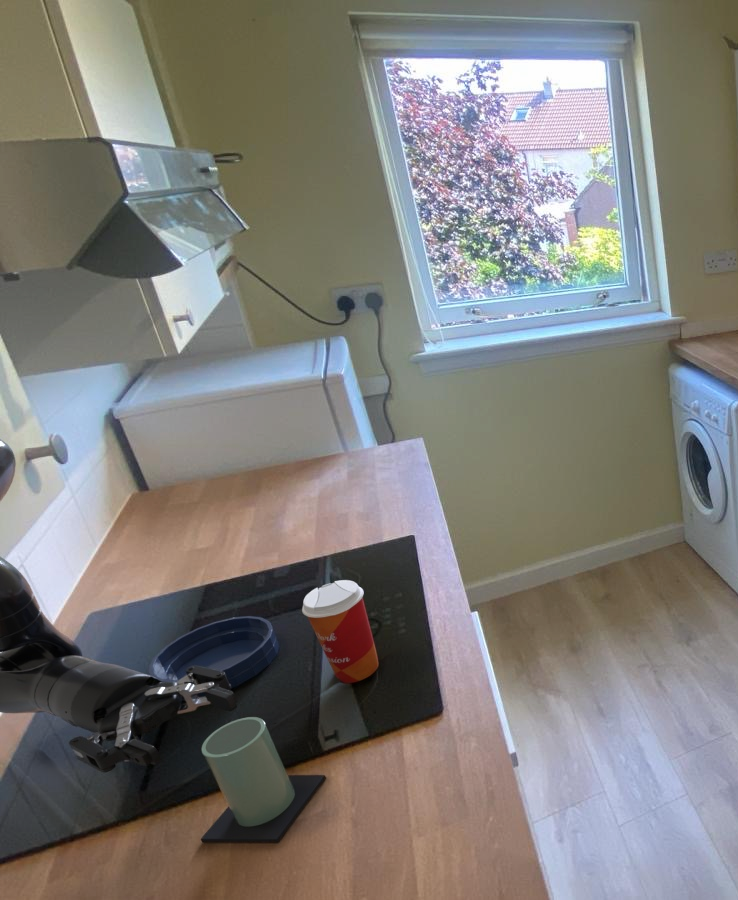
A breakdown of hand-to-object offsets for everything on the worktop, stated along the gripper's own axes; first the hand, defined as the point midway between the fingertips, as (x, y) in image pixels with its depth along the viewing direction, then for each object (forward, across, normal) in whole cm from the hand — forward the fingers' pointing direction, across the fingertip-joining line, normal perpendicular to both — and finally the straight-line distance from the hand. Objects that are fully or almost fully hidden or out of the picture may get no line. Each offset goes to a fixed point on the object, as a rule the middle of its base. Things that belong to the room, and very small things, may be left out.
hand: (195, 728), depth 86 cm
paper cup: (-4, +22, +11) cm, 25 cm away
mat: (+7, 0, +11) cm, 13 cm away
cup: (+7, 0, +10) cm, 12 cm away
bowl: (-25, +16, +11) cm, 31 cm away
